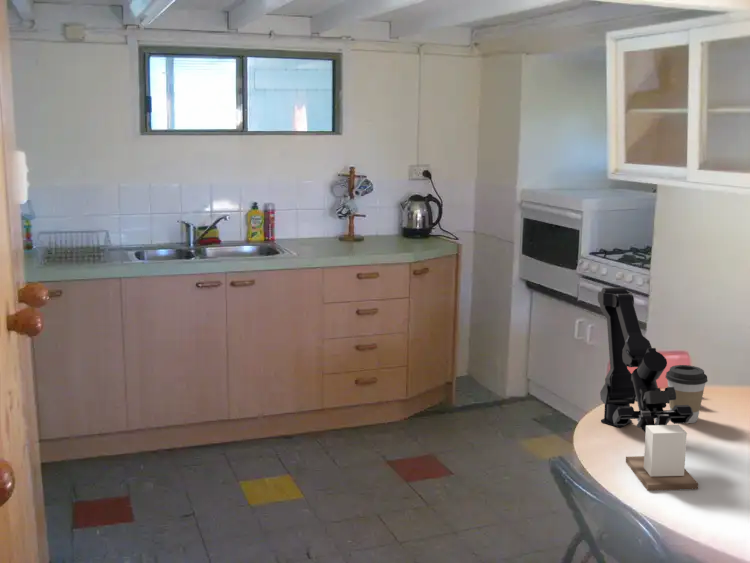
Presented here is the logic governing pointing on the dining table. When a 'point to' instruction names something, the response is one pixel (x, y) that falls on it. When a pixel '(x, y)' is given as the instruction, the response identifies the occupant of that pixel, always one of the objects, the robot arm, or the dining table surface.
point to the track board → (660, 477)
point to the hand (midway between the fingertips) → (659, 447)
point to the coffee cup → (687, 387)
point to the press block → (665, 450)
